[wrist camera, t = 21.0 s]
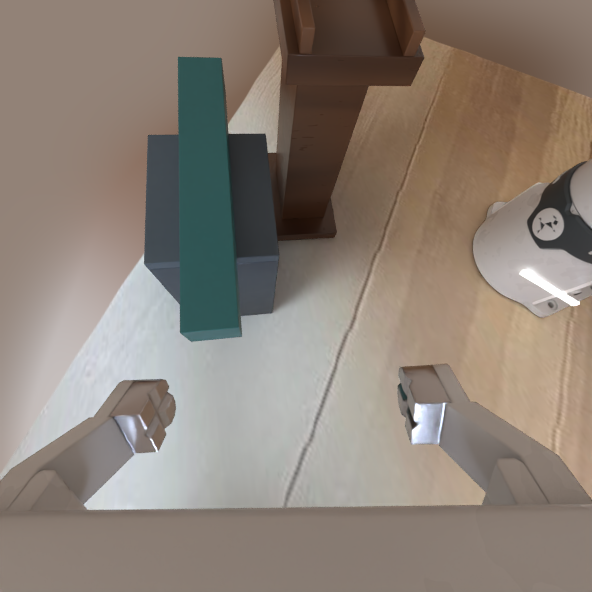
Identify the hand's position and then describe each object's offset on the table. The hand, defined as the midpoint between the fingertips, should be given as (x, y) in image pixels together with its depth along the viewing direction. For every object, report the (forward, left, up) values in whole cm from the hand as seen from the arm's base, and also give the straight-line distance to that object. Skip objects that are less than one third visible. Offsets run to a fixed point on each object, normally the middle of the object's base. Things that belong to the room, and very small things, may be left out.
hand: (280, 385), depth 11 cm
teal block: (+2, -16, -11) cm, 19 cm away
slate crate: (+2, -16, -28) cm, 33 cm away
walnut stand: (-9, -27, -28) cm, 40 cm away
